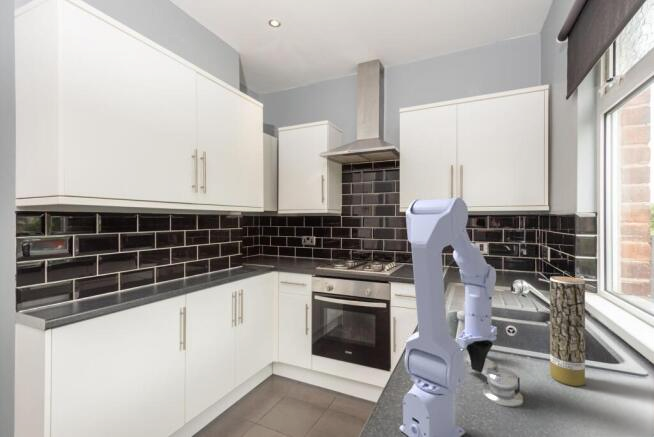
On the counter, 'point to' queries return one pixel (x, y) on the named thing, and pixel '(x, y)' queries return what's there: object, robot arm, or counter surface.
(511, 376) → the elbow
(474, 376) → the counter surface
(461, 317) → the salt shaker
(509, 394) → the duct stub
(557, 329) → the paper tube
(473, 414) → the counter surface
